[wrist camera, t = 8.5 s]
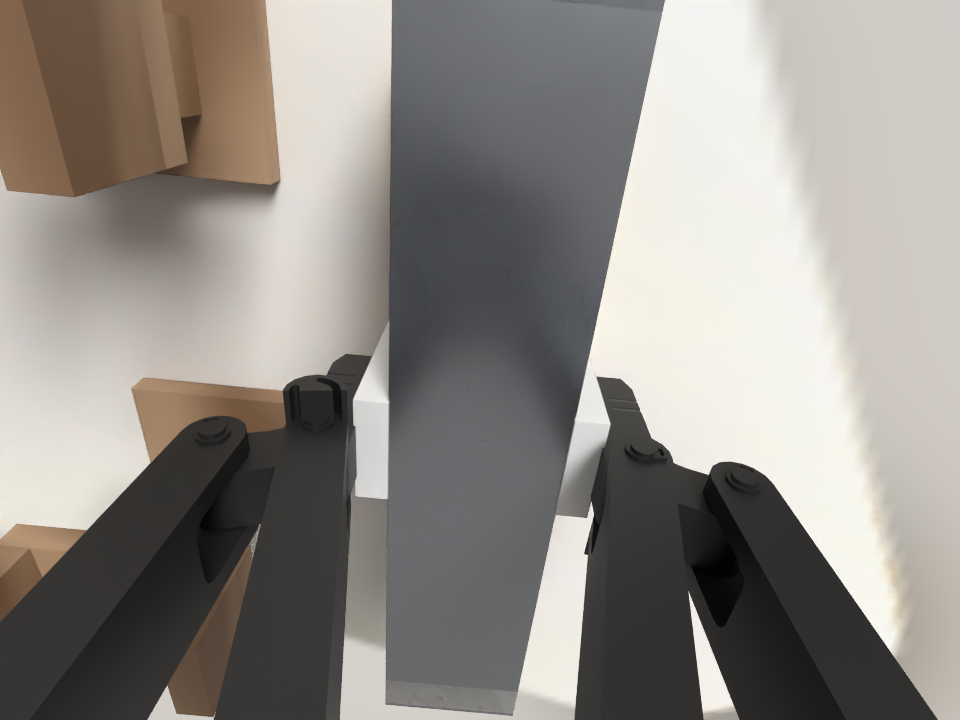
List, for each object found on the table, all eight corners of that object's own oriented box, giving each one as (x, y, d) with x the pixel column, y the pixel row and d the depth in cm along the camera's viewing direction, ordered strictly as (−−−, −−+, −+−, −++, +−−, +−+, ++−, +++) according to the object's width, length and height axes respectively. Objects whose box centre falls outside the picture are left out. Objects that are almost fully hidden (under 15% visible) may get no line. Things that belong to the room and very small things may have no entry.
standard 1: (160, 493, 24) (-24, 723, 15) (130, 376, 21) (-117, 582, 13) (319, 508, 24) (220, 746, 15) (311, 393, 21) (184, 610, 13)
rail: (405, 594, 20) (385, 704, 17) (428, -68, 11) (393, -132, 7) (510, 604, 20) (512, 715, 17) (626, -47, 11) (686, -101, 7)
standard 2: (74, 159, 17) (-336, 248, 9) (12, -81, 14) (-688, -291, 6) (295, 181, 17) (99, 290, 9) (279, -53, 14) (-38, -222, 6)
